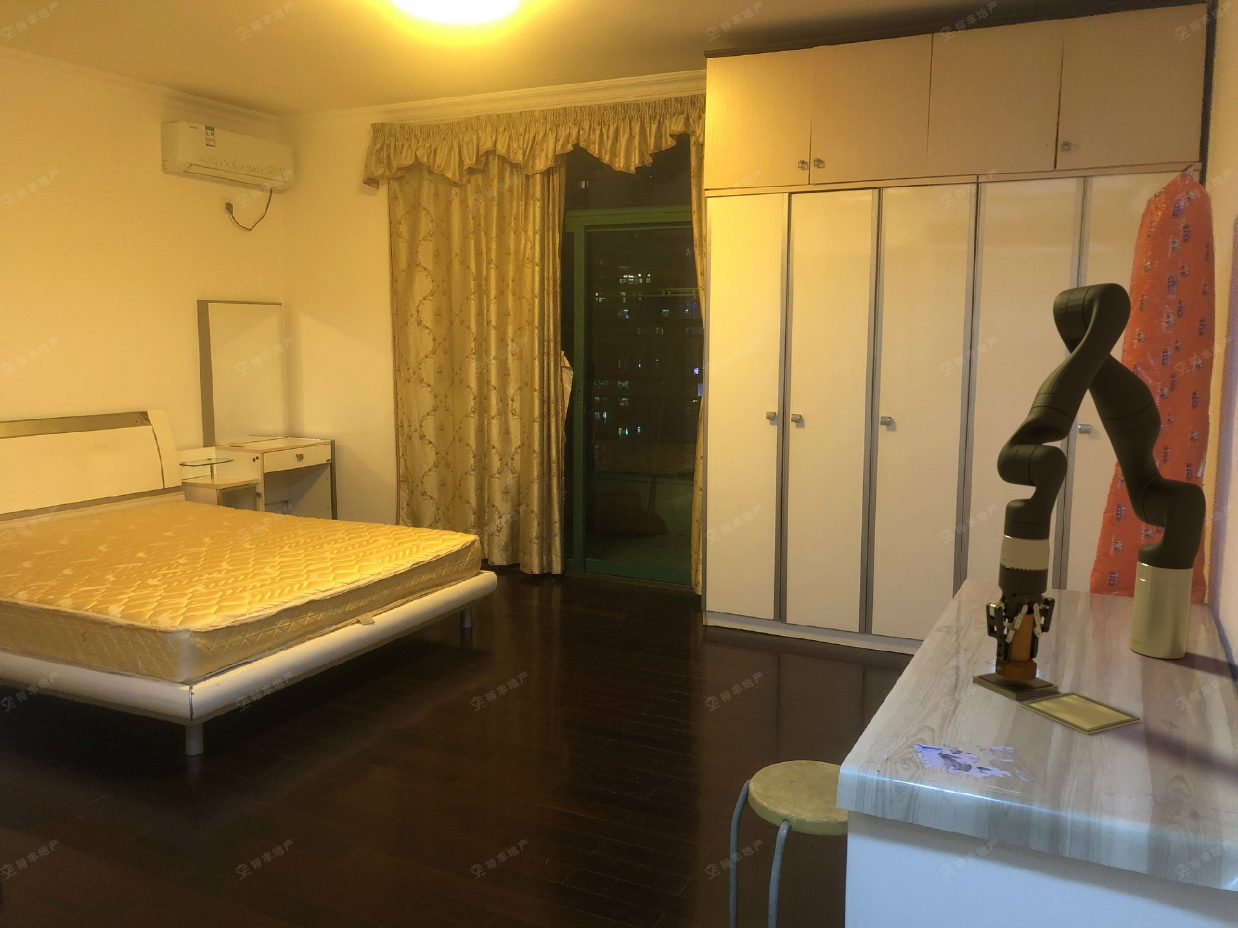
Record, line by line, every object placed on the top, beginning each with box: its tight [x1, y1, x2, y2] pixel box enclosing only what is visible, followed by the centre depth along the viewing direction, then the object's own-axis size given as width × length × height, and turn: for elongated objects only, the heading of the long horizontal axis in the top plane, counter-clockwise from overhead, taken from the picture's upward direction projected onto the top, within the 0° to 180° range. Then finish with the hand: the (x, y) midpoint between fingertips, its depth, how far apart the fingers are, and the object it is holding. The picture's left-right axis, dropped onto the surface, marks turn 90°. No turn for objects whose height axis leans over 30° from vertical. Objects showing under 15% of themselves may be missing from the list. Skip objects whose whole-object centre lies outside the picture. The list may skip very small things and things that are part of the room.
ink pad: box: [972, 672, 1059, 701], centre depth 159 cm, size 10×9×1 cm
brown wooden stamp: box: [994, 598, 1038, 681], centre depth 158 cm, size 7×6×18 cm
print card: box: [1019, 690, 1142, 735], centre depth 148 cm, size 12×12×1 cm
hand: (1016, 659), depth 159 cm, fingers closed on brown wooden stamp, 5 cm apart
